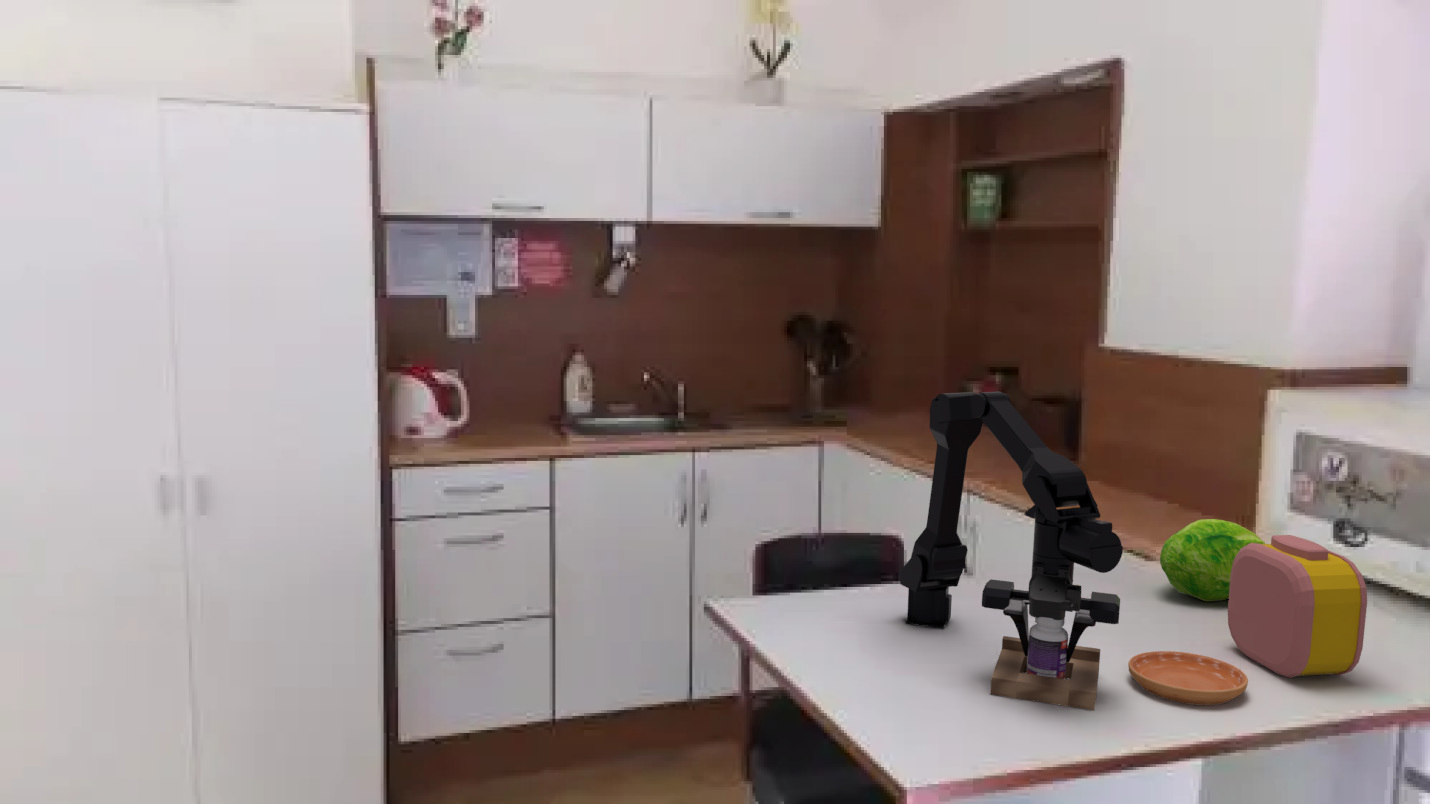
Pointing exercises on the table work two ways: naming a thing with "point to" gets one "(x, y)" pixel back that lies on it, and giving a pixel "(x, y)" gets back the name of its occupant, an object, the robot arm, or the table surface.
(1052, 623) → the pill bottle
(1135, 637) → the table surface
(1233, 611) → the alarm clock
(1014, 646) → the socket
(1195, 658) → the saucer
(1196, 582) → the lettuce
